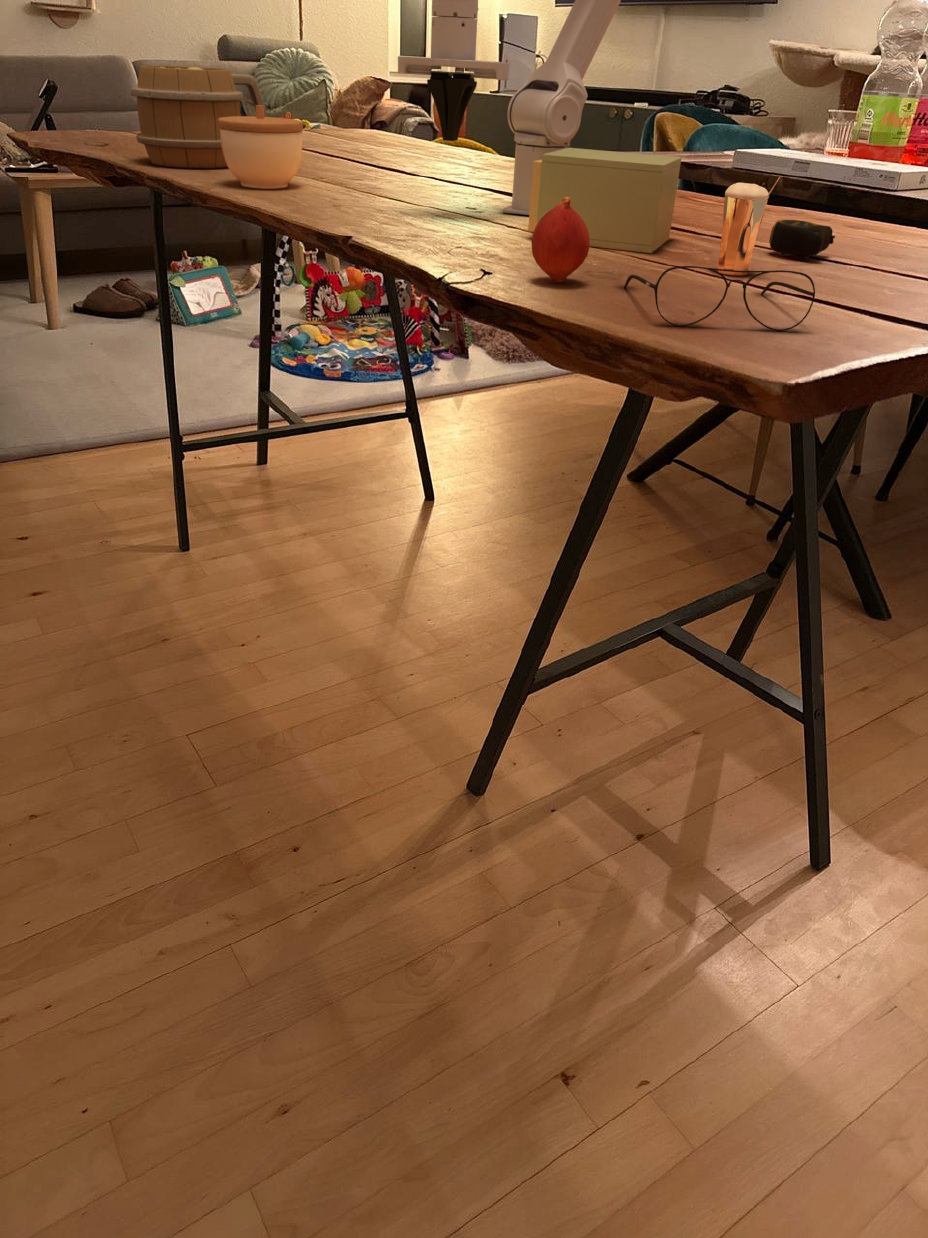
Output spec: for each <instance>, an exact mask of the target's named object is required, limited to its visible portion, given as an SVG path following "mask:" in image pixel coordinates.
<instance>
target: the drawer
mask: <svg viewBox="0 0 928 1238" xmlns="http://www.w3.org/2000/svg"><path fill="white" fill-rule="evenodd" d="M541 165H542V159H541V160H537V161H534V162H533V175H532V188H531V201H530V213H529V215H528V226H527V227H528V228H527V231H528V232H534V230H535V227H536V225H537V214H538V201H539V189H540V177H541Z"/></svg>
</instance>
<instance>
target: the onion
mask: <svg viewBox="0 0 928 1238" xmlns="http://www.w3.org/2000/svg"><path fill="white" fill-rule="evenodd" d="M590 248H591V246H590V237H589V232H588V229H587V227H586V224H585V223H584V221H583V219H582V218H581V217H580V215H579V214H578V213H577V212H575V211H574V210H573V209H572V207H571V199H570V197H566V198H563V200H562V201H561V202H560V203H559V204H558V205H557V206H556V207H555V208H553V209H551V210H550V211H549V212H547V213H546V214H545V215H544V216H543V217H542V218H541V219H540V221H539V222H538V224H537V225H536V227H535V230H534V231H532V238H531V253H532V257H533V259H534V261H535V263H536V264H537V266H538V267H539V268H540V270H541V271H543V272H544V273H545V274H546V275H547V276H548V277H549V278H550V279H551V280H552V281H553V282H555V283H563V282H564V281H565V280H566V279H567V278H568V277H569V276H570V275H571V274H573V273H574V272H575V271H577V270H578V269H579V268H580V267H581V265H583V264H584V262H585V260H586V259H587V258H588V254H589V251H590Z"/></svg>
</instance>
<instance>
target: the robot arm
mask: <svg viewBox="0 0 928 1238" xmlns="http://www.w3.org/2000/svg"><path fill="white" fill-rule="evenodd" d="M621 1H622V0H574V2H573V4H572V6H571V8H570V11H569V13H568V15H567V16H566V19H565V21H564V23H563V25H562V27H561V29H560V31H559V33H558V36H557V38H556V40H555V42H554V44H553V46H552V48H551V50H550V52H549V55H548V57H547V59H546V60H545V61H544V62H543V63H542V64H541V65H539V66H538V67H537V68H536V69H534V70H533V71H532V72H531V73H530V74H529V75H528V77H527V78H526V80H525V82H524V84H523V85H522V87H521V88H519V89H518V90H517V91H515V93H514V94H513V95H512V97H511V98H510V100H509V103H508V106H507V113H506V114H507V123H508V126H509V128H510V130H511V132H512V133H513V135H514V136H513V141H514V142H515V151H514V164H513V165H514V167H513V179H512V180H513V181H512V193H511V194H512V195H511V205H509V206H506V207H503V208H502V209H501V212H502V213H506V214H514V215H516V214H517V215H525V216H529V213H530V201H531V188H532V175H533V162H534V161H537V160H541V159H542V154H546V153H550V152H554V151H558V150H562V149H566V148H568V147H570V146H571V140H572V139H573V138H574V137H575V136H576V134H577V133H578V131H579V129H580V126H581V122H582V114H583V109H584V107H585V104H586V101H587V99H588V96H589V95H588V92H587V89H586V87H585V85H584V82H583V79H584V77H585V75H586V73H587V71H588V69H589V67H590V65H591V63H592V61H593V59H594V56H595V55H596V53H597V52H598V51H597V50H598V48H599V46H600V44H601V42H602V40H603V38H604V36H605V34H606V32H607V30H608V28H609V26H610V24H611V22H612V20H613V18H614V17H615V15H616V14H615V13H616V12H617V10H618V8H619V5H620V3H621ZM478 12H479V0H431V23H430V24H431V29H430V57H422V56H407V55H398V56H397V73H398V74H401V75H403V74H404V75H408V74H409V75H426V76H430V77H429V78H427V79H426V83H427V88H428V89H429V93H430V95H431V96H432V99H433V102H434V104H435V107H436V112H437V116H438V119H439V124H440V129H441V137H442V141H444V142H445V141H447V142H456V141H458V139H459V135H460V131H461V126H462V123H463V119H464V116H465V113H466V110H467V108H468V106H469V105H468V104H469V103H470V100H471V98H472V96H473V94H474V93H475V90H476V89H477V85H478V81H476V80H475V79H484V80H485V79H486V80H496V81H497V80H498V81H508V80H509V75H510V74H509V73H510V62H506V61H493V60H492V61H491V60H490V61H489V60H476V57H477V39H478V38H477V37H478V36H477V35H478V16H479V15H478V14H479V13H478ZM442 67H446V68H447V67H448V68H464V72H461V71H460V72H458V71H444V70H442Z"/></svg>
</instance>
